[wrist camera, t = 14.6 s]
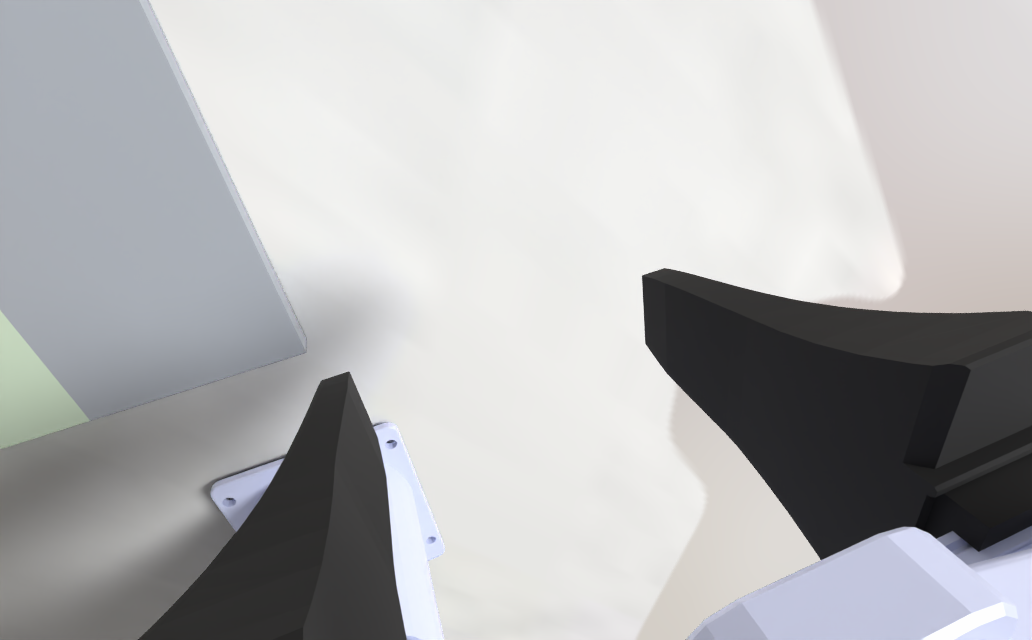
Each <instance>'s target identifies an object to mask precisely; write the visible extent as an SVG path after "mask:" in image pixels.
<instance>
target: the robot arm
mask: <svg viewBox="0 0 1032 640" xmlns="http://www.w3.org/2000/svg"><path fill="white" fill-rule="evenodd" d="M642 283H643V303H644V323H645V344H646V345H647V346H648V348H649V349H650V351H651V352H652V354H653V355H654V356H655V358H656V359H657V361H658V362H659V363H660V365H661V366H662V367H663V369H664V370H665V371H666V373H667V374H668V375H669V376H670V377H671V378H672V379H673V380H674V381H675V382H676V383H677V384H678V385H679V386H680V387H681V389H682V390H683V391H684V392H685V393H686V394H687V395H688V396H689V397H690V398H691V399H692V400H693V401H694V402H695V403H696V404H697V405H698V406H699V407H700V408H701V409H702V410H703V411H704V412H705V413H706V414H707V415H708V416H709V417H710V418H711V419H712V420H713V421H714V422H715V423H716V424H717V425H718V426H719V427H720V428H721V429H722V430H723V431H724V432H725V433H726V434H727V435H728V436H729V438H730V439H731V440H732V441H733V442H734V443H735V444H736V445H737V446H738V448H739V449H740V450H741V451H742V453H743V454H744V455H745V456H746V458H747V459H748V460H749V461H750V463H751V464H752V465H753V466H754V468H755V469H756V470H757V471H758V473H759V474H760V475H761V477H762V478H763V479H764V480H765V482H766V483H767V485H768V486H769V487H770V488H771V490H772V491H773V493H774V494H775V495H776V497H777V498H778V499H779V501H780V502H781V503H782V505H783V506H784V507H785V509H786V510H787V511H788V513H789V514H790V515H791V517H792V518H793V520H794V521H795V523H796V524H797V526H798V527H799V529H800V530H801V532H802V533H803V534H804V536H805V537H806V539H807V540H808V542H809V543H810V544H811V546H812V547H813V549H814V550H815V552H816V553H817V554H818V556H819V557H820V559H821V561H819V562H816V563H815V564H812V565H810V566H808V567H806V568H804V569H801V570H799V571H797V572H795V573H793V574H791V575H789V576H786V577H784V578H782V579H780V580H778V581H776V582H773V583H771V584H769V585H767V586H765V587H763V588H761V589H758V590H756V591H754V592H752V593H750V594H748V595H746V596H744V597H741V598H739V599H737V600H735V601H734V602H732V603H730V604H729V605H727V606H726V607H724V608H722V609H721V610H719V611H718V612H716V613H714V614H713V615H711V616H710V617H708V618H706V619H705V620H704V621H703V622H702V623H701V624H700V625H699V626H698V627H697V628H696V629H695V630H694V631H693V632H692V633H691V634H690V635H689V637H688V638H687V639H686V640H1032V312H1031V311H1012V312H985V313H911V312H910V313H909V312H891V311H878V310H865V309H855V308H845V307H837V306H830V305H824V304H817V303H810V302H804V301H799V300H793V299H788V298H784V297H779V296H775V295H770V294H765V293H761V292H757V291H753V290H749V289H745V288H741V287H737V286H733V285H730V284H726V283H722V282H718V281H715V280H711V279H708V278H704V277H700V276H696V275H693V274H689V273H685V272H681V271H676V270H671V269H666V268H664V269H661V270H658V271H655V272H652V273H649V274H645V275H642ZM389 440H395V441H394V442H392V443H386V442H387V441H389ZM210 496H211V498H212V500H213V501H214V502H215V504H216V505H217V507H218V508H219V509H220V511H221V512H222V513H223V515H224V516H225V518H226V519H227V520H228V522H229V523H230V524H231V526H232V527H233V529H234V530H235V531H236V533H235V534H234V536H233V537H232V538H231V539H230V541H229V542H228V543H227V544H226V545H225V547H224V548H223V549H222V550H221V552H220V553H219V554H218V555H217V557H216V558H215V559H214V560H213V561H212V563H211V564H210V565H209V566H208V568H207V569H206V570H205V571H204V572H203V573H202V574H201V575H200V577H199V578H198V579H197V580H196V581H195V582H194V583H193V584H192V585H191V587H190V588H189V589H188V590H187V591H186V592H185V593H184V594H183V595H182V596H181V597H180V598H179V599H178V600H177V601H176V603H175V604H174V605H173V606H172V607H171V608H170V609H169V610H168V611H167V612H166V613H165V614H164V615H163V616H162V617H161V618H160V619H159V620H158V621H157V622H156V623H155V624H154V625H153V626H152V627H151V628H150V629H149V630H148V631H147V632H146V633H145V634H144V635H143V636H142V637H140V638H139V639H138V640H444V635H443V631H442V626H441V621H440V616H439V612H438V607H437V602H436V598H435V593H434V588H433V583H432V579H431V574H430V569H429V564H428V561H429V560H431V559H434V558H436V557H439V556H440V555H442V554H443V553H444V551H445V546H444V542H443V540H442V537H441V535H440V532H439V530H438V527H437V525H436V522H435V520H434V517H433V515H432V512H431V510H430V507H429V505H428V502H427V500H426V497H425V495H424V492H423V490H422V487H421V485H420V482H419V480H418V477H417V475H416V472H415V470H414V467H413V464H412V462H411V459H410V457H409V454H408V452H407V449H406V447H405V444H404V442H403V439H402V437H401V434H400V432H399V429H398V427H397V426H396V425H395V424H393V423H389V422H388V423H383V424H380V425H377V426H374V427H373V425H372V423H371V421H370V418H369V416H368V414H367V411H366V409H365V407H364V404H363V402H362V400H361V397H360V395H359V393H358V391H357V388H356V386H355V384H354V381H353V379H352V377H351V374H350V372H346V373H343V374H340V375H337V376H334V377H331V378H328V379H325V380H322V381H321V383H320V384H319V386H318V388H317V390H316V393H315V395H314V397H313V400H312V402H311V404H310V407H309V409H308V411H307V413H306V416H305V418H304V420H303V422H302V424H301V426H300V428H299V430H298V432H297V435H296V437H295V439H294V441H293V443H292V445H291V447H290V449H289V451H288V453H287V454H286V456H285V458H283V459H280V460H277V461H274V462H271V463H268V464H265V465H262V466H260V467H257V468H254V469H251V470H248V471H245V472H242V473H240V474H237V475H234V476H231V477H228V478H225V479H222V480H219V481H217V482H216V483H214V484H213V486H212V489H211V493H210ZM226 498H234V499H233V500H227V499H226Z"/></svg>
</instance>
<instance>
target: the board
mask: <svg viewBox="0 0 1032 640" xmlns="http://www.w3.org/2000/svg"><path fill="white" fill-rule="evenodd" d="M306 344H307V339H306V337H305V335H304V333H303V331H302V328H301V326H300V324H299V322H298V320H297V318H296V316H295V313H294V311H293V309H292V307H291V305H290V303H289V301H288V298H287V296H286V294H285V292H284V290H283V288H282V286H281V283H280V281H279V279H278V277H277V275H276V273H275V271H274V268H273V266H272V264H271V262H270V260H269V258H268V256H267V253H266V251H265V249H264V247H263V245H262V243H261V241H260V238H259V236H258V234H257V232H256V230H255V228H254V226H253V223H252V221H251V219H250V217H249V215H248V213H247V211H246V208H245V206H244V204H243V202H242V200H241V198H240V196H239V193H238V191H237V189H236V187H235V185H234V183H233V181H232V178H231V176H230V174H229V172H228V170H227V168H226V166H225V163H224V161H223V159H222V157H221V155H220V153H219V151H218V148H217V146H216V144H215V142H214V140H213V138H212V136H211V133H210V131H209V129H208V127H207V125H206V123H205V121H204V118H203V116H202V114H201V112H200V110H199V108H198V106H197V103H196V101H195V99H194V97H193V95H192V93H191V91H190V88H189V86H188V84H187V82H186V80H185V78H184V76H183V73H182V71H181V69H180V67H179V65H178V63H177V61H176V58H175V56H174V54H173V52H172V50H171V48H170V46H169V43H168V41H167V39H166V37H165V35H164V33H163V31H162V28H161V26H160V24H159V22H158V20H157V18H156V16H155V13H154V11H153V9H152V7H151V5H150V3H149V1H148V0H0V449H3V448H6V447H10V446H13V445H16V444H19V443H22V442H25V441H29V440H32V439H35V438H38V437H41V436H44V435H48V434H51V433H54V432H57V431H60V430H63V429H67V428H70V427H73V426H76V425H79V424H82V423H86V422H89V421H92V420H95V419H98V418H101V417H105V416H108V415H111V414H114V413H117V412H120V411H123V410H127V409H130V408H133V407H136V406H139V405H142V404H146V403H149V402H152V401H155V400H158V399H161V398H165V397H168V396H171V395H174V394H177V393H180V392H184V391H187V390H190V389H193V388H196V387H199V386H203V385H206V384H209V383H212V382H215V381H218V380H222V379H225V378H228V377H231V376H234V375H237V374H241V373H244V372H247V371H250V370H253V369H256V368H260V367H263V366H266V365H269V364H272V363H275V362H278V361H282V360H285V359H288V358H291V357H294V356H297V355H301V354H304V353H306Z"/></svg>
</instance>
